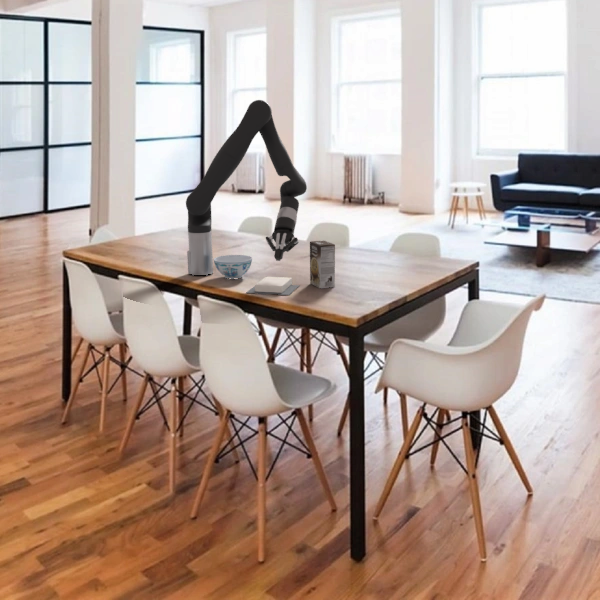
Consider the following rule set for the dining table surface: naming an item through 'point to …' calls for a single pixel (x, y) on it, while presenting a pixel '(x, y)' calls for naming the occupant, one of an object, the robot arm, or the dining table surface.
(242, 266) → the chinaware
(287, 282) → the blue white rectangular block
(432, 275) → the dining table surface
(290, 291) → the rubber mat
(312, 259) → the coffee box
